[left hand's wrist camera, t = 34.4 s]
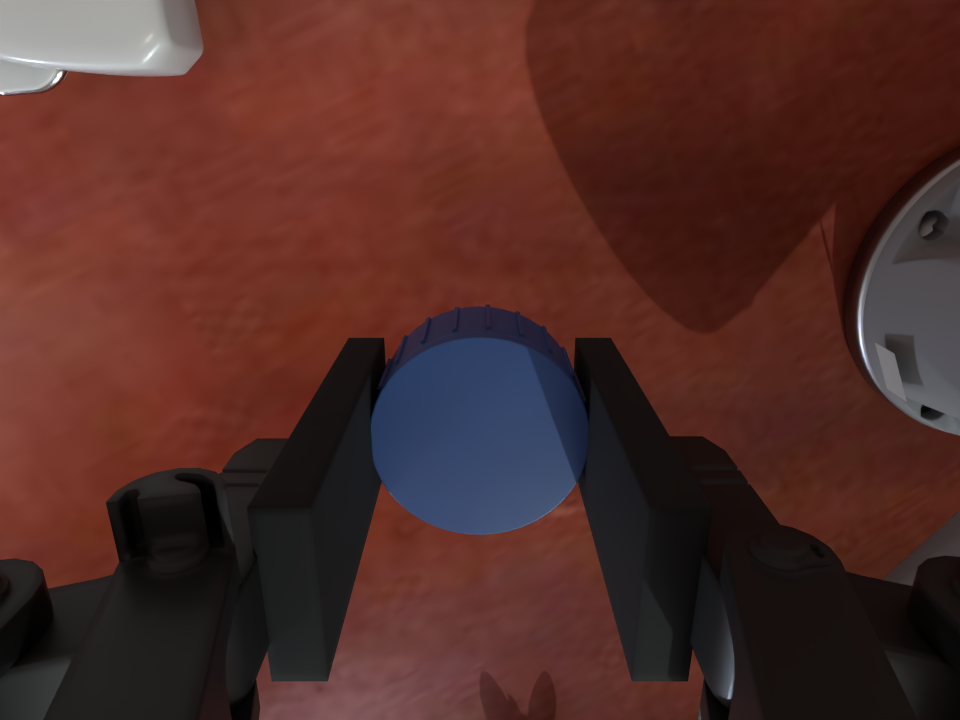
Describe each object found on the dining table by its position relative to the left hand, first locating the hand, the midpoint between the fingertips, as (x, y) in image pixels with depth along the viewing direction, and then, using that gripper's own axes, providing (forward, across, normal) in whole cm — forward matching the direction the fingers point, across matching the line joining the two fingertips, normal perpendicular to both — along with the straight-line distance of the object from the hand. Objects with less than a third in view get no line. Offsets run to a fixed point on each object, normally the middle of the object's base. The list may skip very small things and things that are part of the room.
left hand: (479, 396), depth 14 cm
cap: (-2, 0, 0) cm, 2 cm away
